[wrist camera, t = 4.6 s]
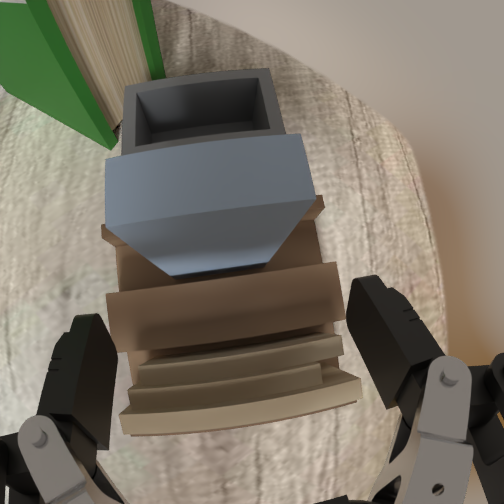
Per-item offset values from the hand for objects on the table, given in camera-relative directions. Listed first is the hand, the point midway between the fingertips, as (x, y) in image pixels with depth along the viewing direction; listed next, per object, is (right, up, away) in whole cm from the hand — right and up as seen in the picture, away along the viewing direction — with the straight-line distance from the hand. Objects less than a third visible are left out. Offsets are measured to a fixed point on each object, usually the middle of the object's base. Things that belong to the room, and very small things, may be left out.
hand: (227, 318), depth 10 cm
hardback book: (-16, +17, +14) cm, 27 cm away
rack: (-1, -2, +11) cm, 11 cm away
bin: (-3, +9, +13) cm, 16 cm away
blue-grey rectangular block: (-1, +2, +10) cm, 10 cm away
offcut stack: (0, -5, +9) cm, 10 cm away
